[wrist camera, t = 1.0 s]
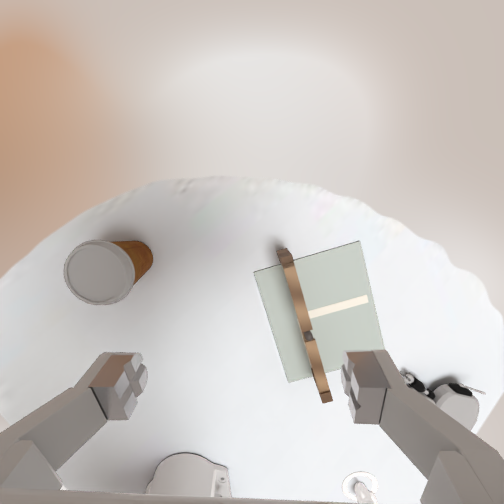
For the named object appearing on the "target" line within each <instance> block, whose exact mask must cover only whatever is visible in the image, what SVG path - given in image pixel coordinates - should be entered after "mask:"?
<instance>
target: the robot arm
mask: <svg viewBox="0 0 504 504" xmlns="http://www.w3.org/2000/svg"><path fill="white" fill-rule="evenodd" d="M342 359H343V362H344V364H343V365H342V366H341V379H342V384H343V388H344V392H345V394H346V395H348V396H349V403H348V405H349V408H350V412H351V415H352V418H353V421H354V423H357V424H379V425H380V427H381V428H382V429H383V430H384V432H385V433H386V434H387V435H388V436H389V437H390V438H391V439H392V440H393V442H394V443H395V444H396V445H397V446H398V447H399V448H400V449H401V451H402V452H403V453H404V454H405V455H406V456H407V457H408V458H409V460H410V461H411V462H412V463H413V464H414V465H415V466H416V467H417V468H418V470H419V471H420V472H421V473H422V474H423V475H424V476H425V477H426V479H427V480H428V482H427V484H426V487H425V489H424V492H423V494H422V497H421V499H420V501H421V504H504V460H503V458H502V457H501V456H500V454H499V453H498V452H497V450H495V449H494V448H492V447H491V446H490V445H488V444H487V443H486V442H484V441H483V440H482V439H480V438H479V437H478V436H476V435H475V434H474V433H472V432H471V431H470V430H468V429H467V428H466V427H464V426H463V425H461V424H460V423H459V422H457V421H456V420H455V419H453V418H452V417H451V416H449V415H448V414H447V413H445V412H444V411H443V410H441V409H440V408H439V407H437V406H436V405H435V404H433V403H432V402H430V401H429V400H428V399H426V398H425V397H424V396H422V395H421V394H420V393H418V392H417V391H416V390H414V389H409V388H408V386H407V385H406V383H405V381H404V379H403V378H402V376H401V374H400V372H399V371H398V369H397V367H396V365H395V364H394V362H393V360H392V359H391V357H390V355H389V353H388V352H387V351H386V350H385V349H384V350H344V351H343V354H342ZM142 361H143V358H142V355H141V353H125V352H115V353H113V352H104V353H102V354H101V355H99V357H98V358H97V359H96V360H95V362H94V363H93V364H92V365H91V367H90V368H89V369H88V370H87V372H86V373H85V374H84V375H83V377H82V378H81V379H80V380H79V382H78V383H77V384H76V385H75V387H74V388H69V389H67V390H66V391H64V392H63V393H61V394H60V395H58V396H56V397H55V398H53V399H52V400H50V401H49V402H47V403H46V404H44V405H43V406H41V407H40V408H38V409H36V410H35V411H33V412H32V413H30V414H29V415H27V416H26V417H24V418H23V419H21V420H20V421H18V422H16V423H15V424H13V425H12V426H10V427H9V428H7V429H6V430H4V431H3V432H1V433H0V504H366V503H344V502H321V501H298V500H276V499H253V498H232V495H231V488H230V482H229V475H228V470H227V468H226V467H224V466H220V465H216V464H213V463H211V462H210V461H208V460H207V459H205V458H203V457H201V456H198V455H194V454H186V453H184V454H176V455H173V456H170V457H168V458H166V459H165V460H163V461H162V462H161V463H160V464H159V466H158V467H157V469H156V471H155V475H154V478H153V480H152V481H151V482H150V483H149V484H148V485H147V488H146V492H145V493H146V494H138V493H115V492H92V491H69V490H60V489H61V487H62V480H61V479H60V478H59V476H58V475H57V473H56V471H57V470H58V469H59V468H60V467H61V466H62V465H63V464H64V463H65V462H66V461H67V460H68V459H69V458H70V457H71V456H72V455H73V454H74V453H75V452H76V451H77V450H78V449H79V448H81V447H82V446H83V445H84V444H85V443H86V442H87V441H88V440H89V439H90V438H91V437H92V436H93V435H94V434H95V433H96V432H97V431H98V430H99V429H100V428H101V427H102V426H103V425H104V424H105V423H106V422H107V420H129V418H130V416H131V414H132V412H133V410H134V408H135V406H136V404H137V398H136V397H137V396H139V395H140V394H141V393H142V392H143V391H144V388H145V386H146V383H147V379H148V372H147V369H146V367H145V366H144V365H143V364H141V362H142Z"/></svg>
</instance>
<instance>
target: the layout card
mask: <svg viewBox="0 0 504 504" xmlns="http://www.w3.org/2000/svg"><path fill="white" fill-rule="evenodd" d="M293 261H294V264H295V268H296V272H297V275H298V279H299V282H300V286H301V289H302V293H303V296H304V300H305V303H306V307H307V310H308V314H309V318H310V321H311V325H312V328H313V330H310V331H311V333H312V335H313V338H315V340H316V343H317V347H318V350H319V354H320V358H321V361H322V365H323V368H324V372H325V373H328V372H331V371H335V370H339V369H341V366H342V365H343V364H344V362H343V359H342V354H343V351H344V350H384V349H385V348H384V343H383V339H382V335H381V330H380V326H379V321H378V317H377V313H376V308H375V304H374V300H373V295H372V291H371V286H370V282H369V278H368V273H367V269H366V265H365V260H364V256H363V251H362V247H361V243H360V241H358V242H354V243H351V244H347V245H344V246H341V247H337V248H334V249H331V250H327V251H324V252H320V253H317V254H314V255H310V256H307V257H304V258H300V259H297V260H293ZM254 275H255V278H256V281H257V284H258V287H259V290H260V294H261V297H262V300H263V303H264V306H265V309H266V313H267V316H268V319H269V322H270V325H271V329H272V332H273V335H274V338H275V341H276V344H277V348H278V351H279V354H280V357H281V360H282V363H283V367H284V370H285V373H286V376H287V379H288V382H289V383H290V382H294V381H298V380H301V379H305V378H309V377H313V374H312V371H311V368H312V366H311V362H310V359H309V355H308V352H307V349H306V345H305V342H304V338H303V334H302V331H301V328H300V324H299V321H298V317H297V314H296V310H295V307H294V304H293V300H292V297H291V293H290V290H289V287H288V283H287V280H286V276H285V273H284V269H283V267H282V265H281V264H280V265H276V266H273V267H270V268H266V269H263V270H260V271H256V272H254Z"/></svg>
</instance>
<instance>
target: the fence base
mask: <svg viewBox="0 0 504 504" xmlns="http://www.w3.org/2000/svg"><path fill="white" fill-rule="evenodd" d="M302 334H303V338H304V342H305V345H306V349H307V352H308V355H309V359H310V362H311V366H312V368H311V371H312V374H313V377H314V380H315V383H316V386H317V388H318V391H319V394H320V397H321V400H322V403H327V402H330V401H333V399H332V396H331V392H330V389H329V386H328V382H327V379H326V375H325V372H324V368H323V365H322V361H321V358H320V354H319V350H318V347H317V343H316V340H315V338H313V335H312V333H311V331H306V332H302Z"/></svg>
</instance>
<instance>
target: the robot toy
mask: <svg viewBox="0 0 504 504" xmlns="http://www.w3.org/2000/svg"><path fill="white" fill-rule="evenodd" d="M406 376H407V377H408V378H406V377H405V376H404V378H403V379H404V381H405V382H406V383H408V384H409V385H410V386H411V387H408V388H409V389H414V390H416V391H417V392H418V393H420V394H421V395H422V396H424V397H425V398H426V399H428V400H429V401H430V402H432V403H433V404H435V405H436V406H437V407H439V408H440V409H441V410H443V411H444V412H445V413H447V414H448V415H449V416H451V417H452V418H453V419H455V420H456V421H457V422H459V423H460V424H461V425H463V426H464V427H466V428H467V429H468V430H470V431H471V429H472V428H473V426H474V425H475V423H476V421H477V417H478V413H479V403H478V400H477V399H476V398H475V397H474V396H473V395H472V392H471V391H470V390H469V389H471V390H474V391H477V392H479V393H481V394H486V393H484V392H482V391H479V390H476V389H473V388H470V387H467V386H464V385H463V384H461V383H459V384H448V385H447V384H444V385H441V386H439V387H437V388H436V389H435V390H434V392H432V391H430V390H429V389H427V390H426V389H425V387H424V385H423V383H422V382H420V381H419V380H418V379H416V378H415V377H413V376H412V375H410V374H406ZM467 388H468V389H467Z"/></svg>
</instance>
